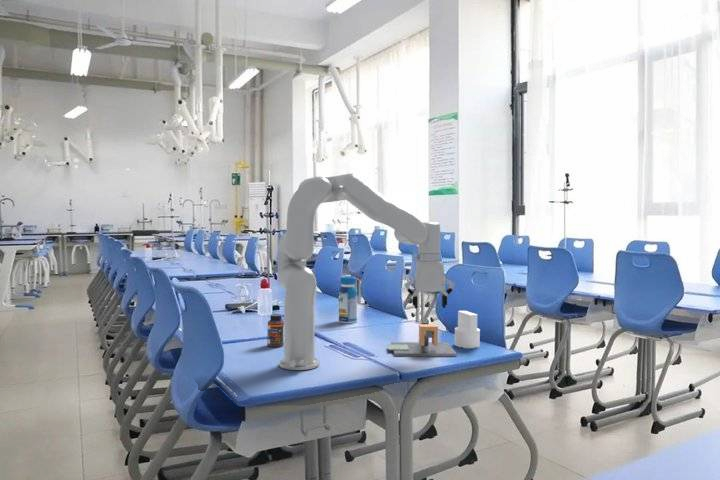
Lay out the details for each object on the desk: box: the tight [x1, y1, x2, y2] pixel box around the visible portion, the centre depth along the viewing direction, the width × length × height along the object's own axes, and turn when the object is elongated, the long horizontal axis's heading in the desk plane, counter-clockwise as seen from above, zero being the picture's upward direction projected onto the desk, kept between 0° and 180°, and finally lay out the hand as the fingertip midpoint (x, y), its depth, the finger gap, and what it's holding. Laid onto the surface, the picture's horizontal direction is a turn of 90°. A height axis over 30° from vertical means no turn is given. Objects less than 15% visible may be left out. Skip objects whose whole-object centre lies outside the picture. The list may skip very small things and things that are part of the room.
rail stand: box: [387, 321, 457, 357], centre depth 194 cm, size 16×22×9 cm
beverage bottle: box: [337, 275, 358, 324], centre depth 244 cm, size 8×8×20 cm
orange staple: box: [418, 323, 439, 346], centre depth 191 cm, size 4×6×7 cm, turn 91°
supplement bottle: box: [266, 313, 284, 348], centre depth 200 cm, size 6×6×11 cm
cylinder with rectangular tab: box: [454, 310, 481, 349], centre depth 202 cm, size 9×9×12 cm
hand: (429, 307), depth 190 cm, fingers open, 9 cm apart
